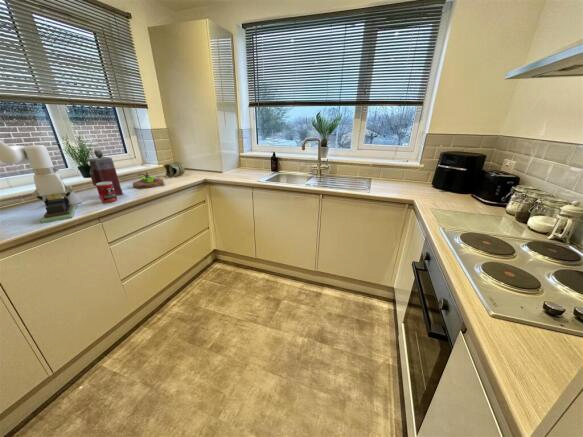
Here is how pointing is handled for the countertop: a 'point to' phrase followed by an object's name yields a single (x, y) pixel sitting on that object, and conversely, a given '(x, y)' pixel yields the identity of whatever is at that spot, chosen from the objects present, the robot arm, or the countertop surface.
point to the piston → (174, 169)
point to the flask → (73, 197)
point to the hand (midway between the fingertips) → (58, 206)
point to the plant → (147, 182)
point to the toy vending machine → (104, 171)
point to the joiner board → (60, 214)
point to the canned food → (106, 192)
